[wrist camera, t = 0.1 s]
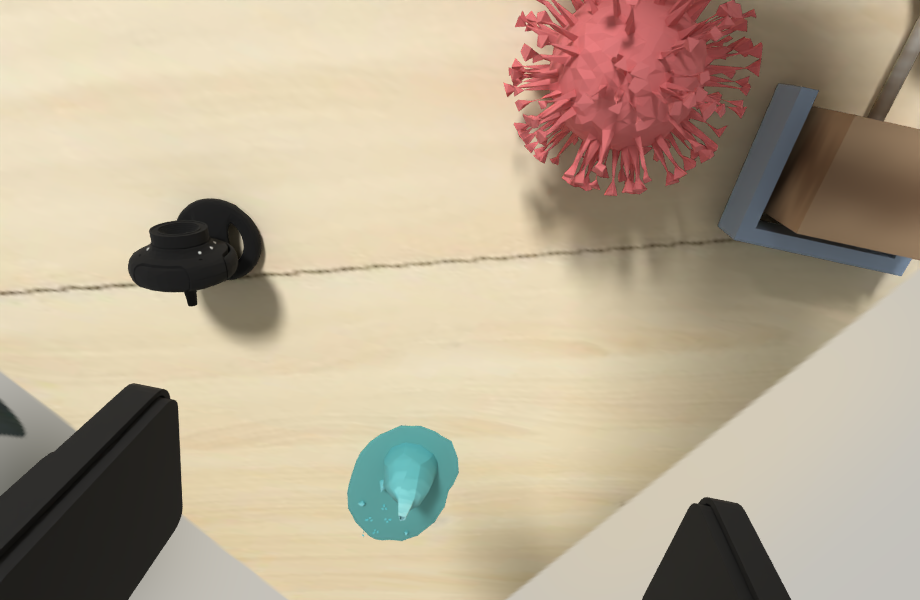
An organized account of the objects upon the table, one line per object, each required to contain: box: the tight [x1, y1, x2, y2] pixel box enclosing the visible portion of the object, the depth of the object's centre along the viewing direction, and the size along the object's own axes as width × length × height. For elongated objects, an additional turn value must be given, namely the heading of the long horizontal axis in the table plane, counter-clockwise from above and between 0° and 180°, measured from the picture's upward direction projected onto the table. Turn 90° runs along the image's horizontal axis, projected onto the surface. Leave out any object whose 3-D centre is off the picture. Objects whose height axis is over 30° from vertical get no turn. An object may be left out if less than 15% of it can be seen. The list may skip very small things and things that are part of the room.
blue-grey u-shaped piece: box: [718, 83, 911, 276], centre depth 41 cm, size 11×13×4 cm
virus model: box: [504, 0, 763, 196], centre depth 34 cm, size 15×15×15 cm
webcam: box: [128, 199, 261, 306], centre depth 44 cm, size 8×8×10 cm
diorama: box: [347, 425, 459, 541], centre depth 56 cm, size 12×20×9 cm, turn 158°
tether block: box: [763, 16, 920, 260], centre depth 36 cm, size 20×9×7 cm, turn 169°
